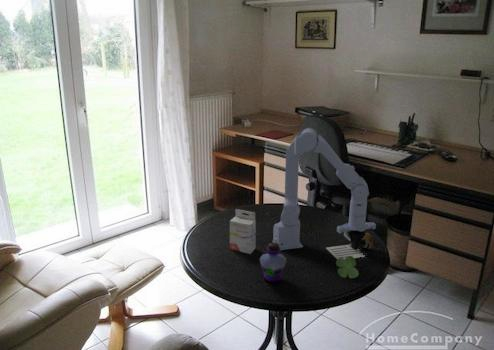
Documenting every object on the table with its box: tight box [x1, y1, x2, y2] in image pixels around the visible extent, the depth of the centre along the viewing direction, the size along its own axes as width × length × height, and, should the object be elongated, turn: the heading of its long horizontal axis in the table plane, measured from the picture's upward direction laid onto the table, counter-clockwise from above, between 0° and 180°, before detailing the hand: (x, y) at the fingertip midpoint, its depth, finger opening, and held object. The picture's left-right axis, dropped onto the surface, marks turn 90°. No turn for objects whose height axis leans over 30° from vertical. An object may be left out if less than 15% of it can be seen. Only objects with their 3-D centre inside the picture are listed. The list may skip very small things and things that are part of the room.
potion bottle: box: [259, 242, 288, 284], centre depth 129 cm, size 9×9×12 cm
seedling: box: [335, 256, 360, 279], centre depth 134 cm, size 7×8×6 cm
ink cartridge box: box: [229, 208, 257, 255], centre depth 148 cm, size 9×5×15 cm, turn 65°
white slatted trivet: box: [325, 244, 366, 260], centre depth 148 cm, size 12×10×1 cm
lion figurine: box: [345, 232, 376, 249], centre depth 151 cm, size 12×4×7 cm, turn 75°
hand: (354, 248), depth 149 cm, fingers closed
